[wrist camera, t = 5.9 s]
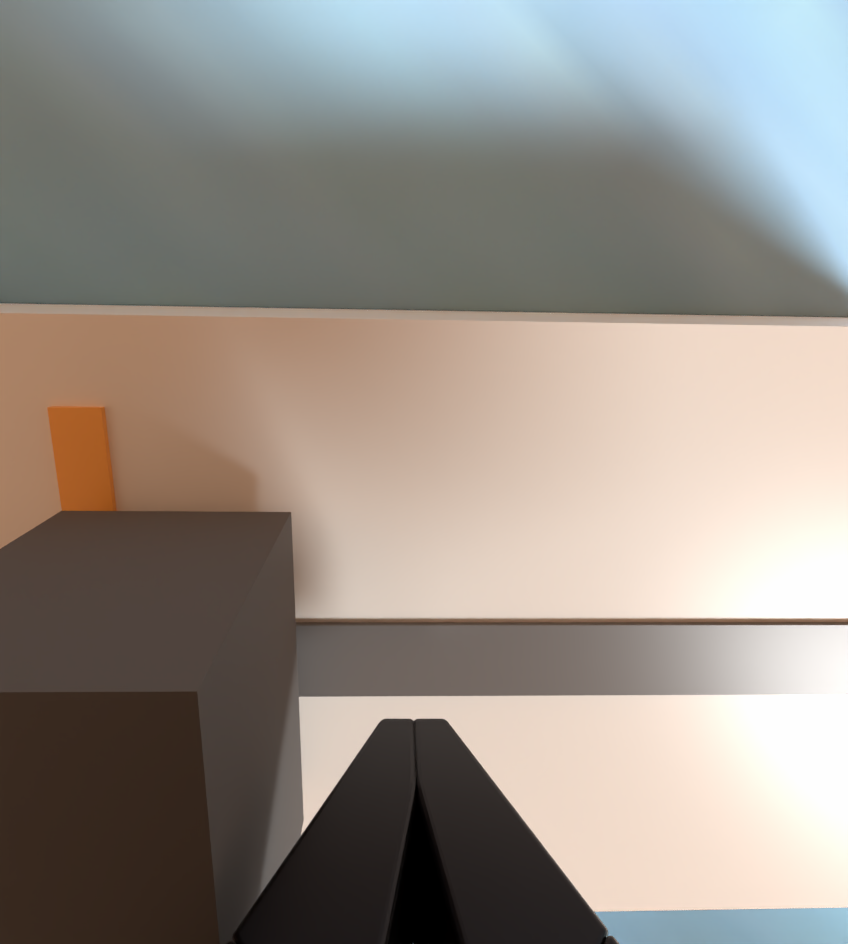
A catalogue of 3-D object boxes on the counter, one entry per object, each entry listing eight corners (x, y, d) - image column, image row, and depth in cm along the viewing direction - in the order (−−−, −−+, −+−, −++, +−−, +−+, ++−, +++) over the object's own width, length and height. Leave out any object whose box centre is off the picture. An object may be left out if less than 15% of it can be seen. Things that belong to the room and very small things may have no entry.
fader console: (809, 678, 18) (1055, 908, 11) (21, 681, 17) (-227, 931, 10) (881, 318, 15) (1260, 333, 9) (-43, 302, 15) (-432, 306, 8)
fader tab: (305, 807, 10) (239, 1161, 6) (112, 809, 10) (-94, 1170, 6) (294, 506, 9) (197, 691, 5) (71, 504, 9) (-234, 694, 4)
